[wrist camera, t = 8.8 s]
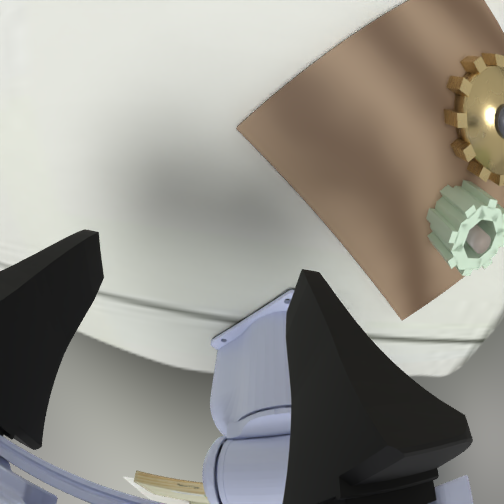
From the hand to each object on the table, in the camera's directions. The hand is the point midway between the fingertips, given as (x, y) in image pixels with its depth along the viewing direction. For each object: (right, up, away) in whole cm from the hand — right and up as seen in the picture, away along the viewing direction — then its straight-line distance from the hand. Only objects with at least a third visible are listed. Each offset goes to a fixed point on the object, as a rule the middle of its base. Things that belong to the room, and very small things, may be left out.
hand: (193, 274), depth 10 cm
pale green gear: (+17, +3, +7) cm, 18 cm away
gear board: (+15, +7, +6) cm, 18 cm away
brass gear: (+18, +10, +3) cm, 21 cm away
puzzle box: (-15, -74, +60) cm, 97 cm away
